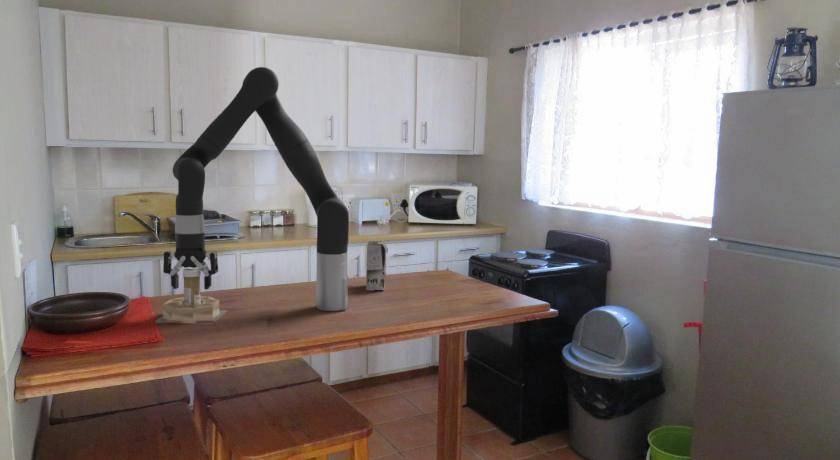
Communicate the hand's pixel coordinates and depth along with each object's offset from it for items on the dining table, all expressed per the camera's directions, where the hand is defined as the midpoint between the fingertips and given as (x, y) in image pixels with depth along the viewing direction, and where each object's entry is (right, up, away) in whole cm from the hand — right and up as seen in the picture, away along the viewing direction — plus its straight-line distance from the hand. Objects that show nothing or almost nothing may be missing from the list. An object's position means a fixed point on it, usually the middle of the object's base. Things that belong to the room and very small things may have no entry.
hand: (191, 288), depth 166 cm
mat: (0, -8, +1) cm, 9 cm away
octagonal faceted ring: (0, -8, +1) cm, 8 cm away
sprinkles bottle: (0, -8, +1) cm, 8 cm away
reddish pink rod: (+2, -9, -5) cm, 10 cm away
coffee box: (+48, -4, +45) cm, 66 cm away
